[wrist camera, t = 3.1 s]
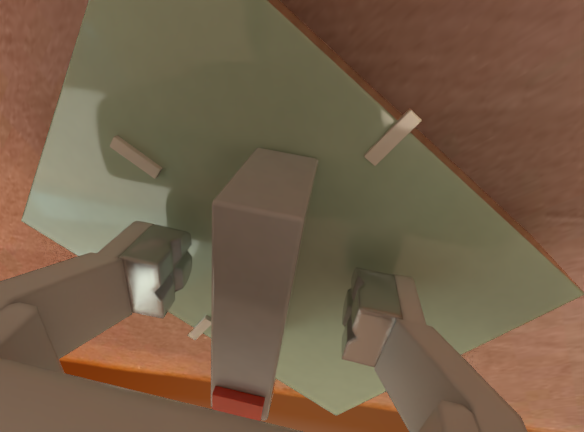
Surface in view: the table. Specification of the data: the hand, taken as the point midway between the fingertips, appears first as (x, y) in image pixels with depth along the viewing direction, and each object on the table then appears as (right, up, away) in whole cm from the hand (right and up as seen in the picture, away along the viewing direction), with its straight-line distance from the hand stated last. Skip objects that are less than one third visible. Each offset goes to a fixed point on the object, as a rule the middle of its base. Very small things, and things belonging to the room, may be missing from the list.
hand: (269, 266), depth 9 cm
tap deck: (+1, +2, +3) cm, 4 cm away
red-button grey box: (0, 0, +1) cm, 1 cm away
